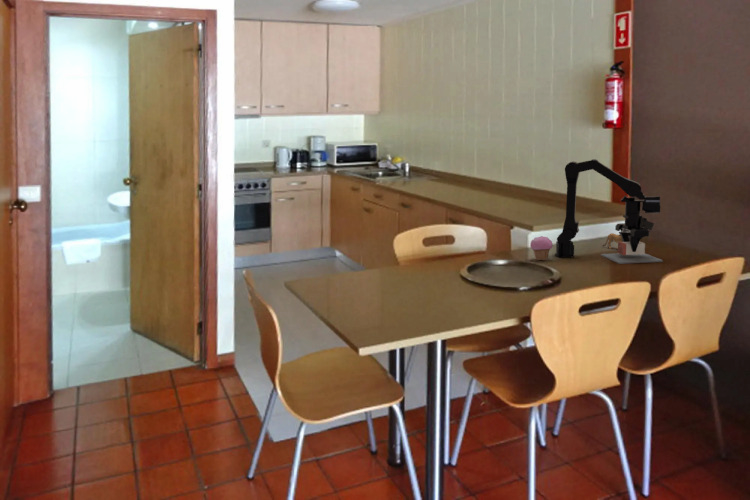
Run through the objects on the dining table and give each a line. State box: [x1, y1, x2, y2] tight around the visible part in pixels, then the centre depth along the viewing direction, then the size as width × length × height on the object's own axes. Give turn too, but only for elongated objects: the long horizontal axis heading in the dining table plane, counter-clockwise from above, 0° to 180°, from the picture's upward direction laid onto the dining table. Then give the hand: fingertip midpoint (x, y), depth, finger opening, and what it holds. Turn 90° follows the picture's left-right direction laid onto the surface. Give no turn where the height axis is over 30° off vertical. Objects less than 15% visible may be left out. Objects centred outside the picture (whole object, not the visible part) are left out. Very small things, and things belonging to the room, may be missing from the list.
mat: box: [600, 252, 664, 265], centre depth 274 cm, size 18×18×1 cm
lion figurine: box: [602, 233, 623, 250], centre depth 295 cm, size 15×5×9 cm, turn 46°
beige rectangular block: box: [617, 240, 646, 255], centre depth 274 cm, size 5×9×5 cm, turn 94°
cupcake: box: [529, 235, 553, 261], centre depth 276 cm, size 9×9×10 cm
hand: (631, 250), depth 274 cm, fingers closed on beige rectangular block, 5 cm apart
